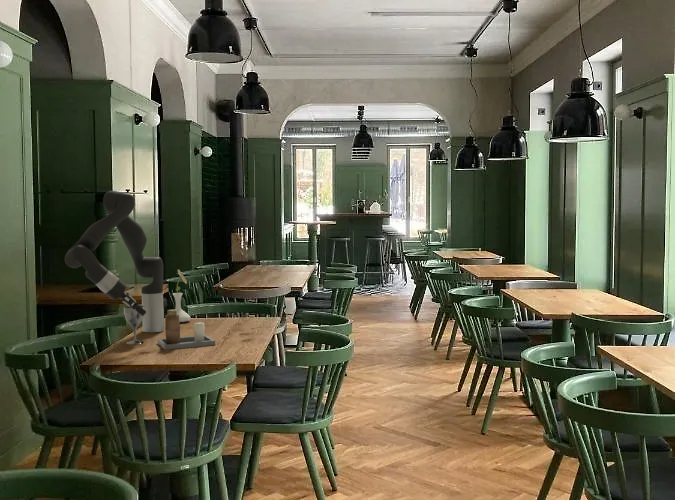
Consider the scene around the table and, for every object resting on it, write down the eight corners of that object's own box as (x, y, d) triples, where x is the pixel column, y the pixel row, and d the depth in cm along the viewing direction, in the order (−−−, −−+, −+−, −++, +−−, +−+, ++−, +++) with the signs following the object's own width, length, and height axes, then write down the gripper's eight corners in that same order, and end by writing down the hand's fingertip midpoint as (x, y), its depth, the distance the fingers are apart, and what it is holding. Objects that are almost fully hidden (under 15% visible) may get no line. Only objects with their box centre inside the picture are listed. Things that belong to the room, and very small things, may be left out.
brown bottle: (164, 344, 297) (163, 310, 296) (178, 343, 299) (177, 308, 298) (167, 347, 292) (166, 311, 291) (181, 345, 294) (180, 310, 293)
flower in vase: (188, 323, 352) (186, 271, 350) (163, 324, 352) (162, 271, 350) (193, 319, 365) (192, 268, 363) (170, 319, 365) (168, 268, 363)
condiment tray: (157, 345, 300) (157, 339, 300) (206, 340, 308) (206, 334, 308) (164, 351, 287) (164, 345, 287) (215, 346, 295) (215, 340, 295)
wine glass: (127, 345, 302) (126, 308, 300) (123, 342, 309) (122, 306, 308) (147, 343, 305) (145, 306, 304) (142, 340, 312) (141, 304, 311)
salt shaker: (193, 342, 301) (193, 322, 300) (203, 341, 302) (202, 322, 302) (196, 344, 297) (195, 324, 297) (205, 343, 299) (205, 323, 298)
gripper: (120, 279, 279) (152, 307, 284) (115, 275, 291) (146, 302, 297) (106, 295, 277) (139, 322, 282) (101, 290, 290) (133, 316, 295)
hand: (142, 312), depth 290 cm, fingers open, 8 cm apart
